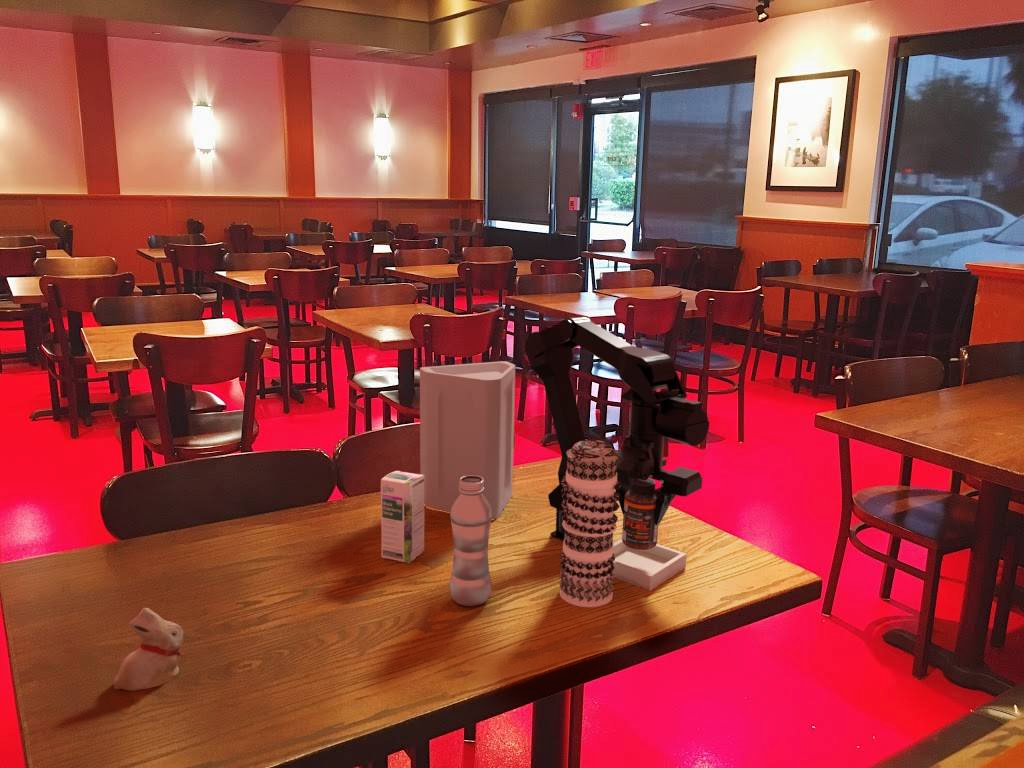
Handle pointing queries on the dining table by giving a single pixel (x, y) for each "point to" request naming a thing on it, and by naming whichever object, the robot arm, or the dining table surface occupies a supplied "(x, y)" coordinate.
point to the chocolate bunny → (151, 653)
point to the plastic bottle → (470, 543)
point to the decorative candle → (589, 523)
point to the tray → (646, 564)
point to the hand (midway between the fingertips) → (641, 519)
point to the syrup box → (402, 516)
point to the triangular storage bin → (467, 431)
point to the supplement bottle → (640, 516)
